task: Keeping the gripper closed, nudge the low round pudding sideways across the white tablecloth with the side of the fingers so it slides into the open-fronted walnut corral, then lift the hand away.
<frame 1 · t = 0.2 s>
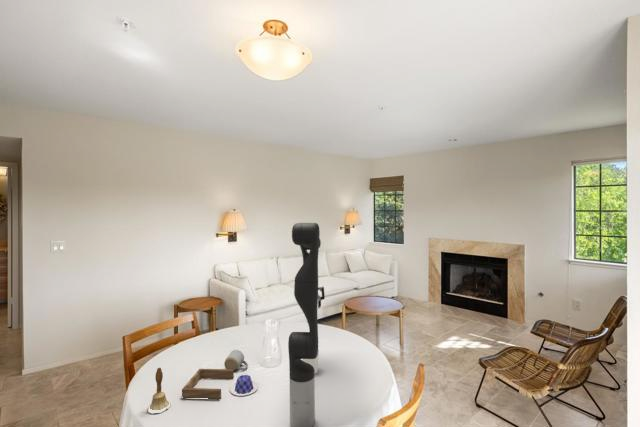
hand: (310, 307, 165), 29 cm above the table, fingers open, 8 cm apart
white cup: (310, 372, 158), on the table
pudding: (244, 389, 144), on the table
corral: (210, 387, 144), on the table
hand bell: (159, 408, 130), on the table
ceramic mug: (236, 368, 162), on the table
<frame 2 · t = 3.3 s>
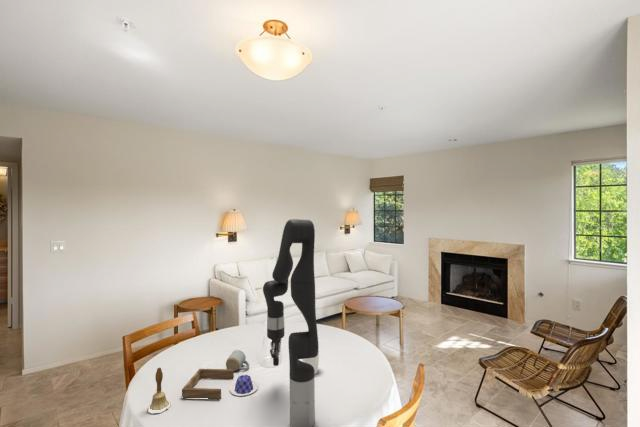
hand: (276, 364, 143), 11 cm above the table, fingers closed
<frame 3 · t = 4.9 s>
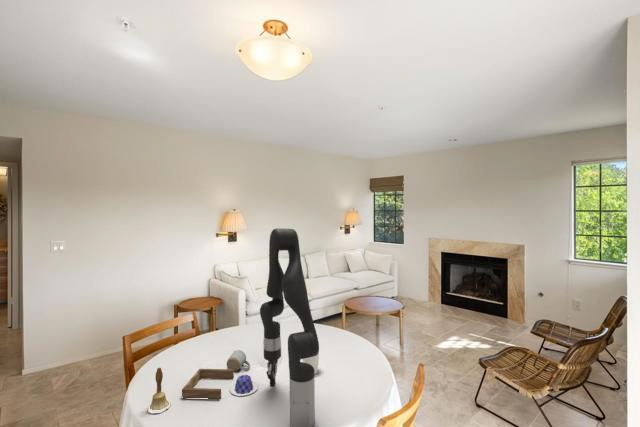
hand: (272, 385, 143), 2 cm above the table, fingers closed
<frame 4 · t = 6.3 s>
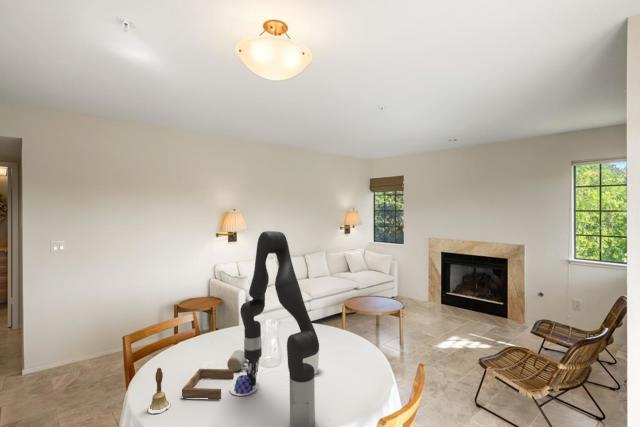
hand: (253, 384, 144), 2 cm above the table, fingers closed
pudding: (243, 389, 144), on the table, touching gripper
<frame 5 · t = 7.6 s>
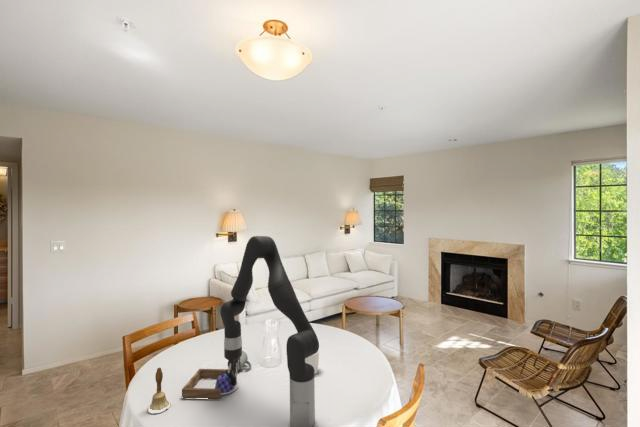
hand: (233, 384, 144), 2 cm above the table, fingers closed
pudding: (224, 389, 144), on the table
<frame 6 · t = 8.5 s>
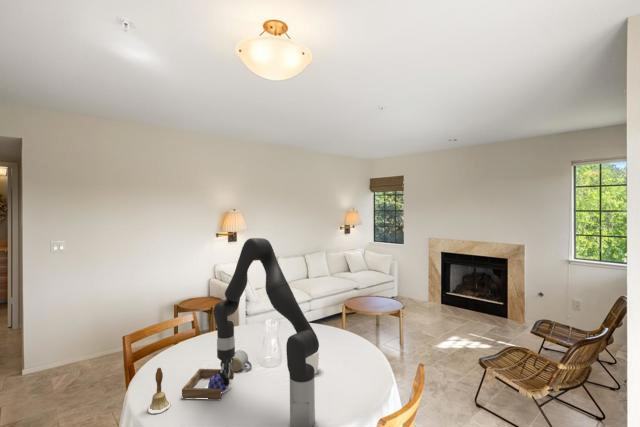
hand: (226, 384, 144), 2 cm above the table, fingers closed
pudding: (217, 389, 144), on the table
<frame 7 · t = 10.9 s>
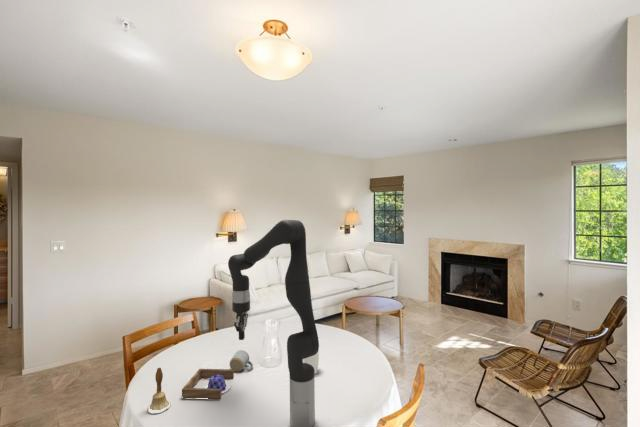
hand: (241, 339, 143), 22 cm above the table, fingers closed
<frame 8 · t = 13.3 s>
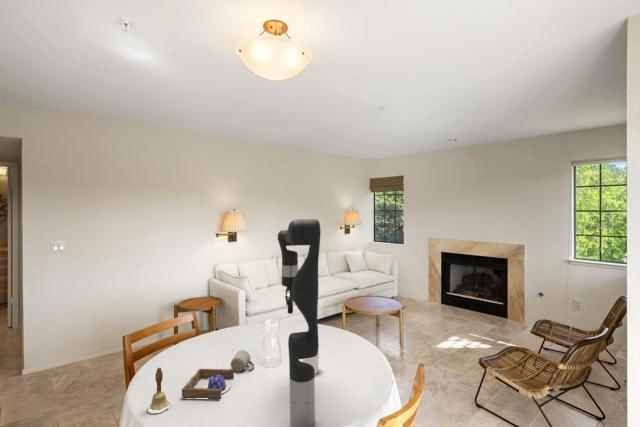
hand: (290, 313, 147), 32 cm above the table, fingers closed
at the end: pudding inside the target area on the corral (2.6 cm from its centre), point -0.6 cm above the corral's base; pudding tilted 0° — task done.
